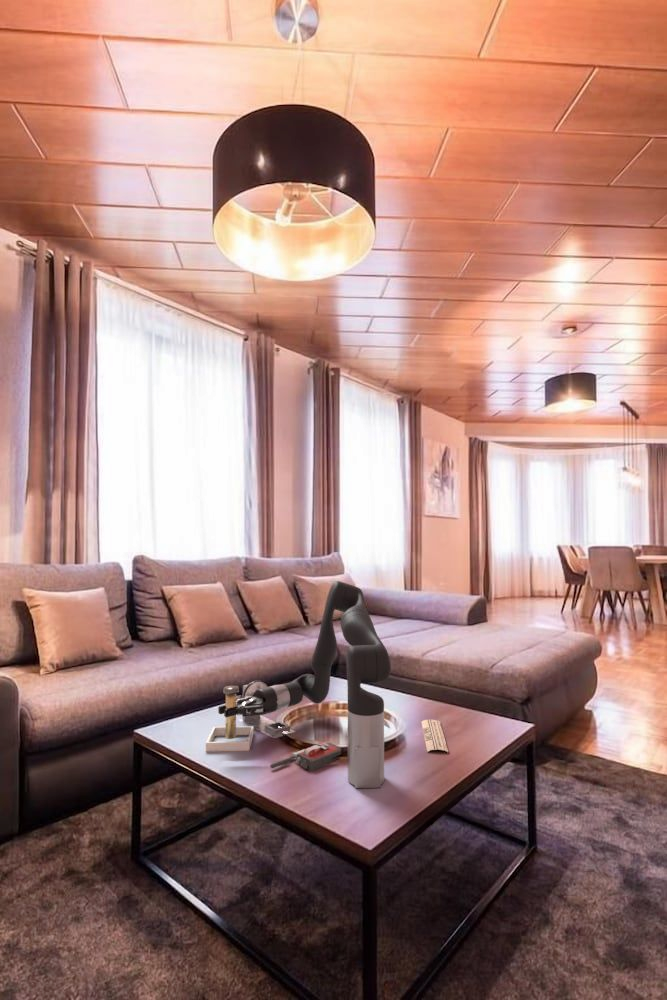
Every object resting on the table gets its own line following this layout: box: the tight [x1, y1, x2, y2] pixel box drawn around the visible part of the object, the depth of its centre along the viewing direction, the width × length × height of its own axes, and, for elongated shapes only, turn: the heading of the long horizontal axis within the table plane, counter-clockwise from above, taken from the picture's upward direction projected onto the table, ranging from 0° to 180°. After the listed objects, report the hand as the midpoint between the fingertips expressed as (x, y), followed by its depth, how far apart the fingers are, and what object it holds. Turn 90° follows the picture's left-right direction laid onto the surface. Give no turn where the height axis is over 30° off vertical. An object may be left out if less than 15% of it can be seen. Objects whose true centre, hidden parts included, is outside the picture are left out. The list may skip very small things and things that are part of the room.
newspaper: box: [421, 719, 450, 754], centre depth 162 cm, size 24×7×2 cm, turn 175°
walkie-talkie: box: [270, 742, 342, 771], centre depth 144 cm, size 9×4×20 cm
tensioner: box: [238, 679, 297, 739], centre depth 168 cm, size 20×10×14 cm, turn 41°
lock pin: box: [222, 685, 240, 740], centre depth 155 cm, size 4×4×14 cm
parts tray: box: [205, 725, 255, 752], centre depth 155 cm, size 12×12×4 cm
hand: (222, 711), depth 153 cm, fingers closed on lock pin, 2 cm apart
